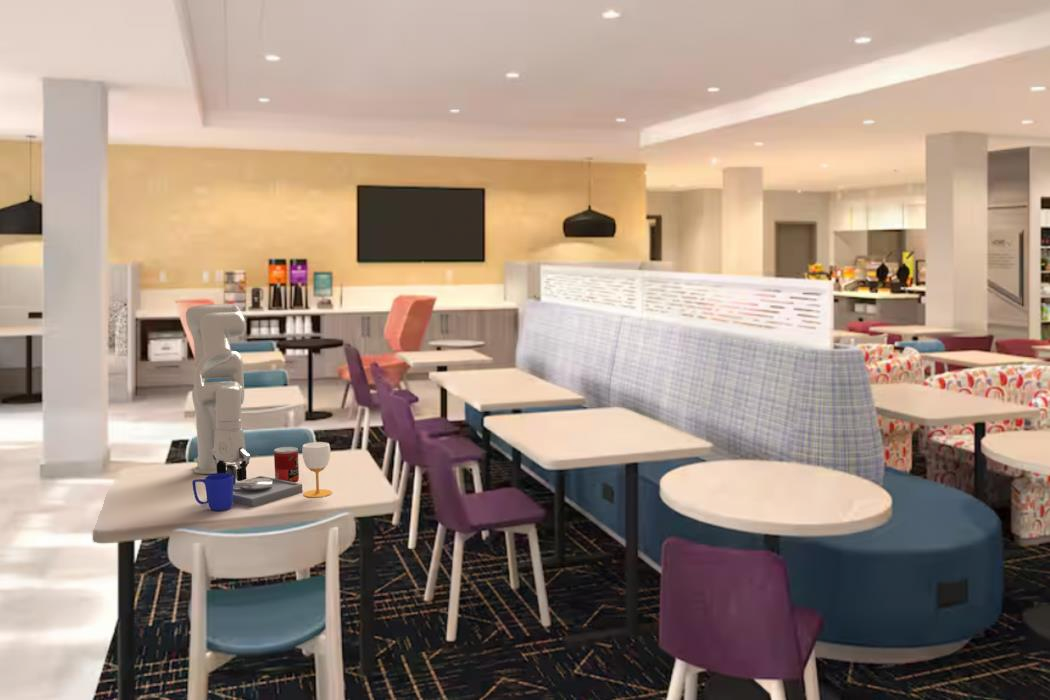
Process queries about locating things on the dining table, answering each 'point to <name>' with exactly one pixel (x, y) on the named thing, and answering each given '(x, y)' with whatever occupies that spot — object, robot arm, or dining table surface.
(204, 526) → the dining table surface
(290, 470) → the canned food
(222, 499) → the mug
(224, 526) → the dining table surface
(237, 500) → the tray
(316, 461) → the cup
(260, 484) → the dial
